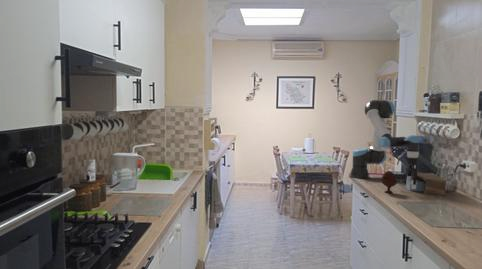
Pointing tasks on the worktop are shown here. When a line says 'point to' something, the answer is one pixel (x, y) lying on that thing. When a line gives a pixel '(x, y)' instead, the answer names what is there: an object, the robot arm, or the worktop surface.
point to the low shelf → (432, 183)
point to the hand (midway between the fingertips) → (411, 187)
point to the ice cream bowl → (389, 181)
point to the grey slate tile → (419, 186)
